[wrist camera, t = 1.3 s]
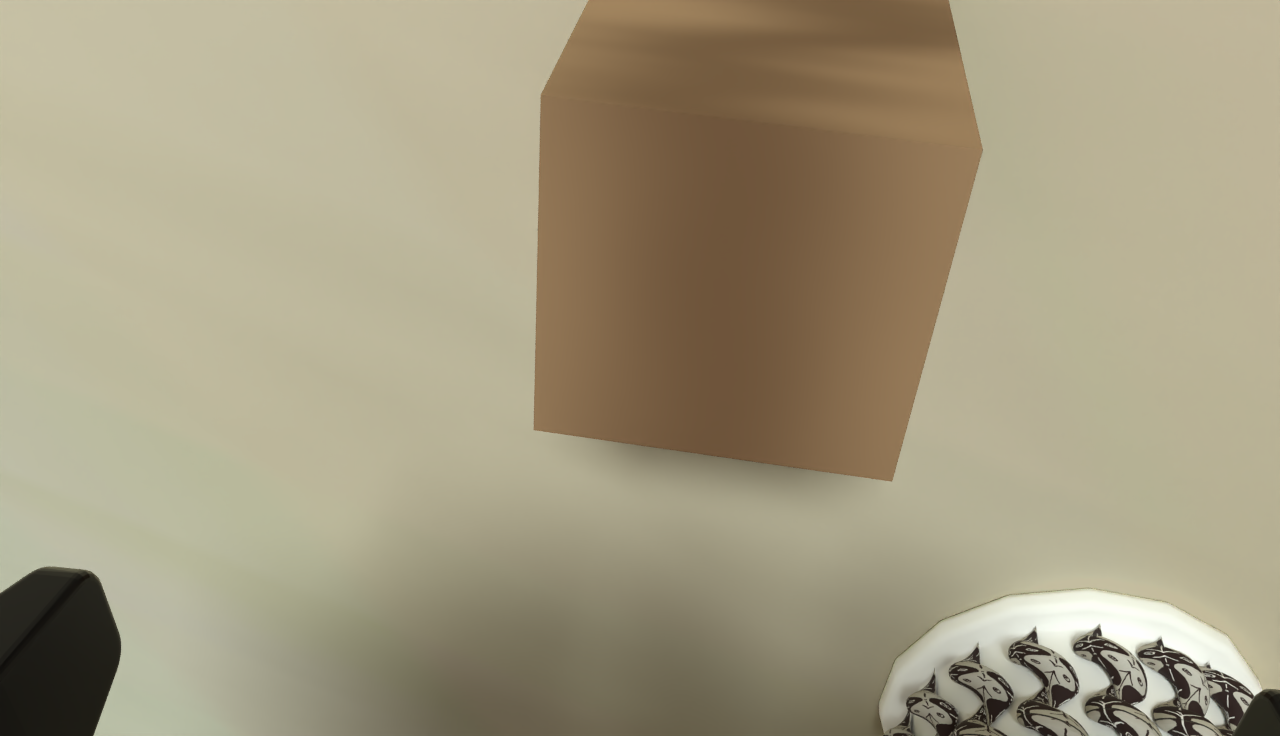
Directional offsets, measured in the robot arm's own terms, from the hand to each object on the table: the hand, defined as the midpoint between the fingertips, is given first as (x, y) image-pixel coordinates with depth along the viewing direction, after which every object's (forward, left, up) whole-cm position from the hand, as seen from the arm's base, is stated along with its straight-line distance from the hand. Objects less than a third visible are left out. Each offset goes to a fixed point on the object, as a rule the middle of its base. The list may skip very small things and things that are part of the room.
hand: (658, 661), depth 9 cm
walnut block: (0, +1, -12) cm, 12 cm away
